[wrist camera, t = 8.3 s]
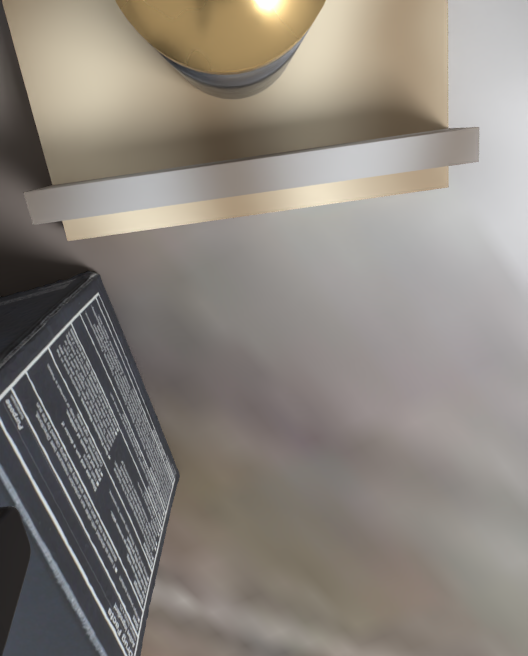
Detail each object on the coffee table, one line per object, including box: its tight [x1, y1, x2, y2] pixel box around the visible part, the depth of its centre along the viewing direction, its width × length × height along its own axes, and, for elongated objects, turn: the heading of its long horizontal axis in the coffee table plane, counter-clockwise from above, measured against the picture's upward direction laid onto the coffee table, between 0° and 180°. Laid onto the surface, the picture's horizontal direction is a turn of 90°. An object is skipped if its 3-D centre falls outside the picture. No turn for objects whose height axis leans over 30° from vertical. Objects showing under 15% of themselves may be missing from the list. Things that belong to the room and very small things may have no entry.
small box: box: [0, 271, 180, 656], centre depth 17 cm, size 11×6×10 cm, turn 15°
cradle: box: [2, 0, 479, 241], centre depth 16 cm, size 14×12×4 cm
